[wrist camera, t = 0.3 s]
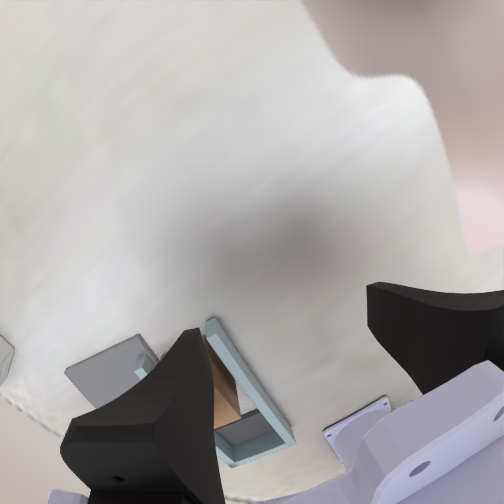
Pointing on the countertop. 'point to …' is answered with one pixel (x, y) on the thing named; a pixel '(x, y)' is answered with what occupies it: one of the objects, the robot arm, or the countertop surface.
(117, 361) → the coaster
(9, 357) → the small box
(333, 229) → the countertop surface
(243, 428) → the u-shaped bracket
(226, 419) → the block
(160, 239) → the countertop surface
